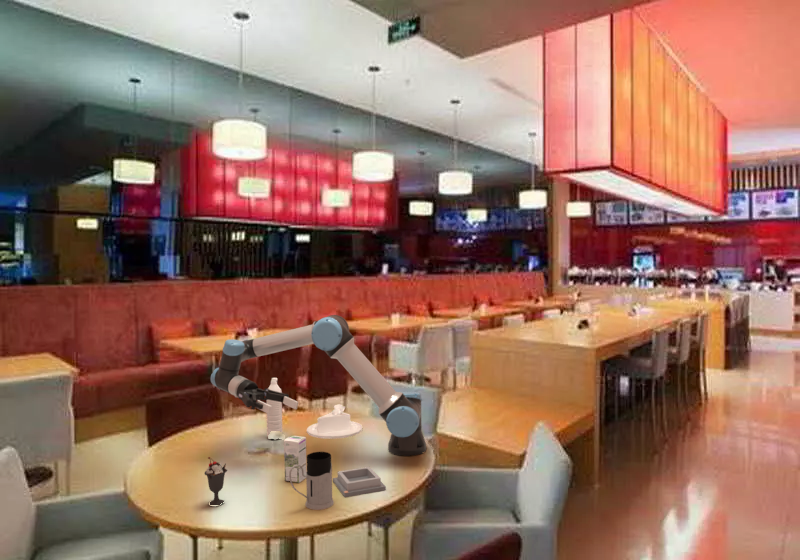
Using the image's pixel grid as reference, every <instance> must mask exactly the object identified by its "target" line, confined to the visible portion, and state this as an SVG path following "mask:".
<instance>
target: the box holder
mask: <svg viewBox="0 0 800 560" xmlns="http://www.w3.org/2000/svg"><path fill="white" fill-rule="evenodd" d="M332 483H333V484H334V485H335V486H336V488H337V489H338V490H339V492H340V493H341V494H342V496H343V497H344V498H348V497H353V496H360V495H364V494H372V493H376V492H383V491H386V489H387V487H386V485H385V484H384V483H383V481H381V477H380V476H379V475H378V474H377V473H376V472H375V471H374V469H372V468H371V467H370V466H365V467H359V468H353V469H346V470H340V471H337V477H332Z"/></svg>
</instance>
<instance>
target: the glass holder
mask: <svg viewBox="0 0 800 560" xmlns="http://www.w3.org/2000/svg"><path fill="white" fill-rule="evenodd" d="M296 466H299V467H301V469H302V476H303V477H306V478H305V479H306V480H305V481H306V482H305V483H306V495H305V494H304V493H303V492H300V491H299V490H298V489H297V488H296V487H295V486H294V484H293V483H294V482H292V480H291V471H292V469H293V468H294V467H296ZM306 471H307V472H306V476H304V471H303V468H302V466H300V465H294V466H293V467H292V468H291V469H290V472H289V478H290V485H291V487H292V489H293V490H294V491H295V492H297V493H298V494H300V495H301V496H303V497H304V498H306V501H305V503H304V504H305V505H304V506H305V507H306V508H307V509H309V510H310V509H311V510H314V511H315V510H317V511H320V510H325V509H326V510H327V509H328V508H331V507H332V506H333V505H334V503H335V502H334V499H333V465H332V454H331V453H330V452H327V451H315V452H311V453H309V454H306Z"/></svg>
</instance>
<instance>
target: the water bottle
mask: <svg viewBox="0 0 800 560" xmlns="http://www.w3.org/2000/svg"><path fill="white" fill-rule="evenodd" d="M267 389H269V390H272V391H276V392H280V393H283V392H282V388H280V386H279V385H278V378H277V377H271V380H270V385H269V387H268V388H267ZM265 401H266V402H265V403H266V404H268V405H270V406H272V408H271V413H270V414H267V413H266V437H267V436H268V435H269V434H270V432H271V431H280V432H282V433H283V402H278V401H273V400H265Z"/></svg>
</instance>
